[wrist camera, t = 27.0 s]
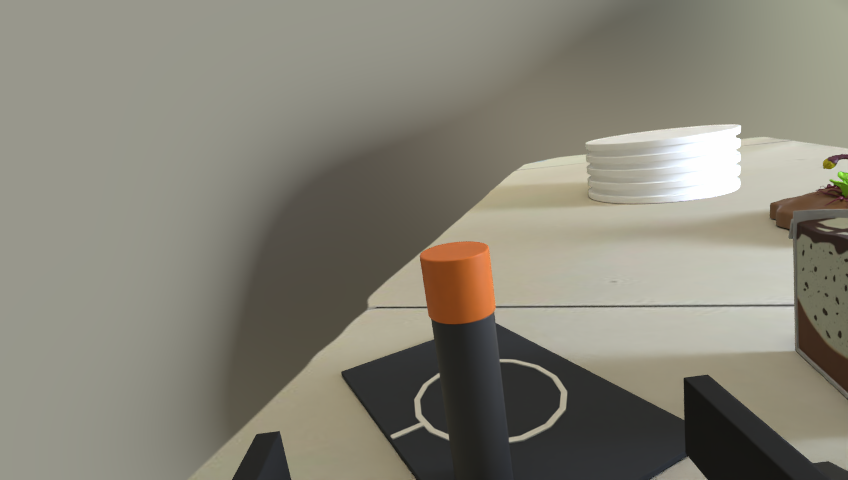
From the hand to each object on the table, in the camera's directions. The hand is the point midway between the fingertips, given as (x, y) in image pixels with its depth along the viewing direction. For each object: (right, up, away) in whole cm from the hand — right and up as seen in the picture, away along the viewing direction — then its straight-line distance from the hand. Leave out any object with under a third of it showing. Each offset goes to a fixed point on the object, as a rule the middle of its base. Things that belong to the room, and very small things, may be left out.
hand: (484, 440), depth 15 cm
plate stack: (+47, +17, +84) cm, 98 cm away
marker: (+1, -7, +9) cm, 12 cm away
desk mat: (+3, -5, +18) cm, 19 cm away
